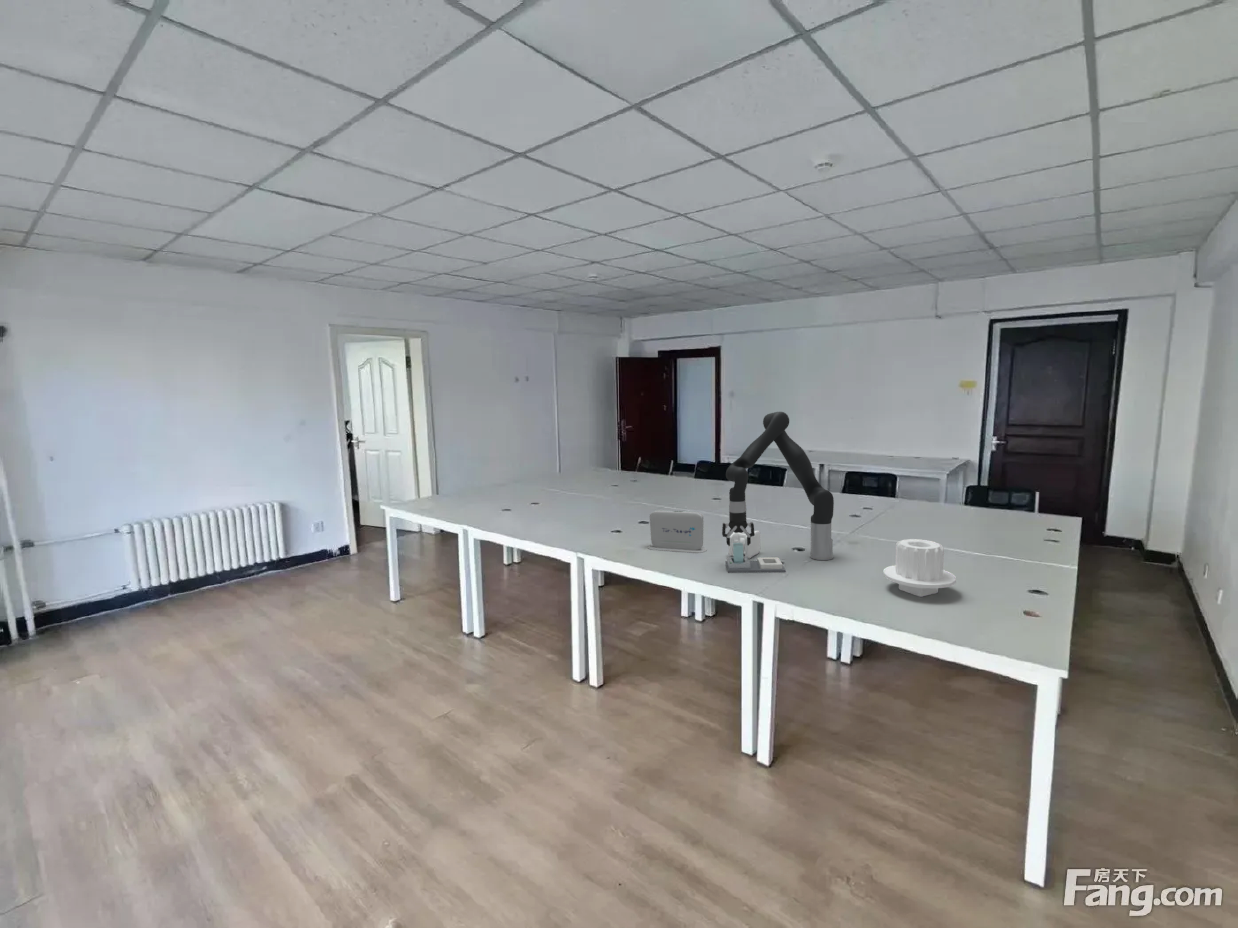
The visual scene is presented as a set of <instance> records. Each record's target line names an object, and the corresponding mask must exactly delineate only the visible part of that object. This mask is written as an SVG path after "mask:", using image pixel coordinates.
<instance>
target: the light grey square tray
mask: <svg viewBox="0 0 1238 928" xmlns="http://www.w3.org/2000/svg"><path fill="white" fill-rule="evenodd" d="M756 558H757V559H756V561H757V562H758V564H759V566H760V569H782V565H783V563H782V561H781V559H780V558H779V557H756Z"/></svg>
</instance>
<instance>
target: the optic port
mask: <svg viewBox="0 0 1238 928" xmlns="http://www.w3.org/2000/svg"><path fill="white" fill-rule="evenodd" d="M726 561H727V564H728V568H729V569H750V562H749V561H750V559H749V558H748V557H746V556H743V562H734V561H733V556H726Z"/></svg>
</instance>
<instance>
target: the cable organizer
mask: <svg viewBox="0 0 1238 928" xmlns="http://www.w3.org/2000/svg"><path fill="white" fill-rule="evenodd" d="M754 534H755V535H754V536H752V537H751V538H750V539H751V543H750V544H749V545H747V535H746V534H745V533H744V532H742V533H739V532H738V533H735V532H733V533H732V535H731V536H730V546H728V555H729V556H730V557H733V543H742V544H743V556H744V557H748V559H749V560H750V559H751V558H753V557H754V556H757V555H758V554H759V553H761V532H760V530H754Z"/></svg>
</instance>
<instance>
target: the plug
mask: <svg viewBox="0 0 1238 928" xmlns="http://www.w3.org/2000/svg"><path fill="white" fill-rule="evenodd" d="M732 557H733V561H734V562H743V557H744V553H743V544H742V543H733V556H732Z"/></svg>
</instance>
